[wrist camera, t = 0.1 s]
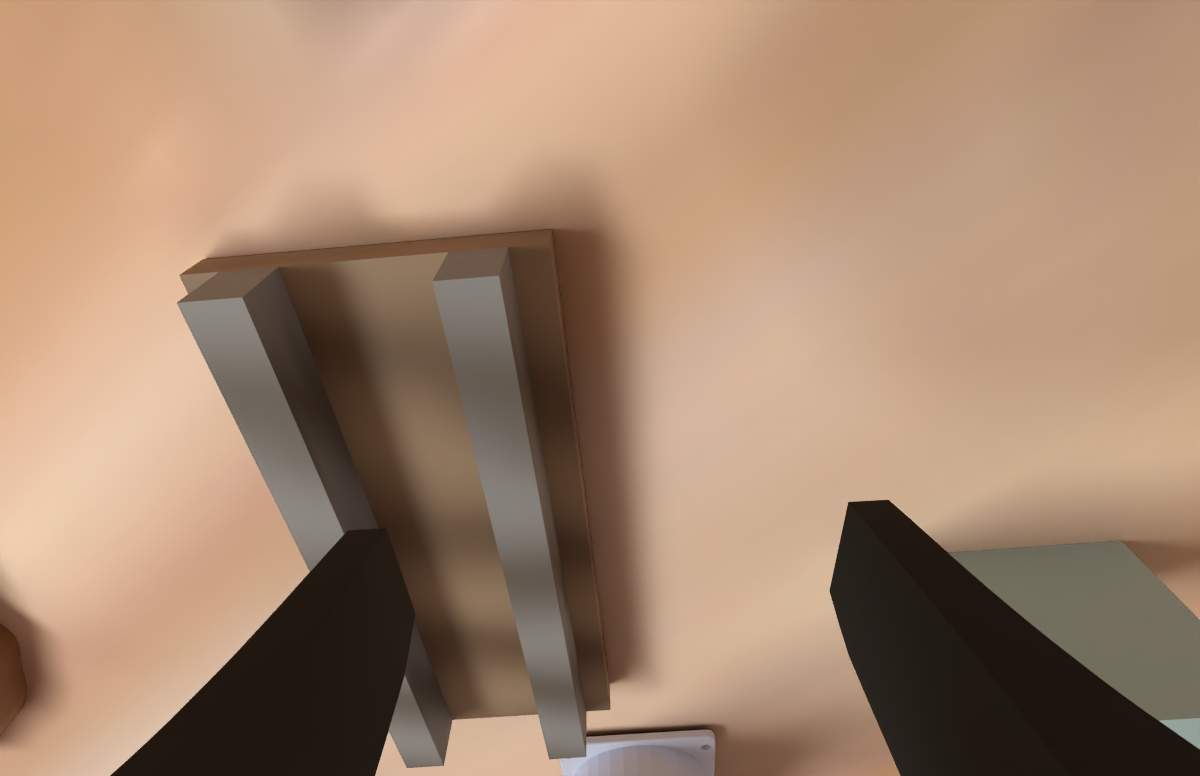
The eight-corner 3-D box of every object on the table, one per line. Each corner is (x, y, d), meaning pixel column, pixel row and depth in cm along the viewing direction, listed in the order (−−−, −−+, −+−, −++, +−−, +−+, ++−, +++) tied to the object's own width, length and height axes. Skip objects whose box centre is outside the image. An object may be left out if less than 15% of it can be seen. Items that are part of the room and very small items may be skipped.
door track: (609, 684, 29) (611, 755, 26) (401, 698, 29) (381, 769, 26) (552, 229, 17) (544, 271, 14) (203, 259, 17) (132, 306, 15)
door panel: (1120, 539, 24) (1291, 712, 18) (1093, 589, 26) (1242, 762, 20) (867, 556, 25) (955, 732, 19) (856, 604, 26) (934, 780, 20)
